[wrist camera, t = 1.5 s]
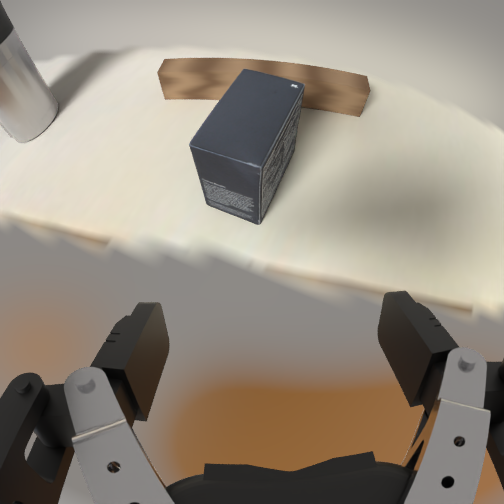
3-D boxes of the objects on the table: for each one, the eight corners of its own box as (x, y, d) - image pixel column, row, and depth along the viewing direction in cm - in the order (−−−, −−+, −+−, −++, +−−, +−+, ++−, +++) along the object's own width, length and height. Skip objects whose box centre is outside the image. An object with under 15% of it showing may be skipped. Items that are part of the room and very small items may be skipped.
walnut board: (165, 99, 37) (157, 72, 32) (171, 85, 38) (164, 59, 33) (359, 116, 36) (370, 90, 31) (357, 102, 37) (367, 76, 32)
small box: (243, 132, 35) (242, 64, 25) (295, 150, 34) (309, 82, 24) (202, 204, 32) (183, 142, 22) (260, 227, 31) (265, 168, 21)
